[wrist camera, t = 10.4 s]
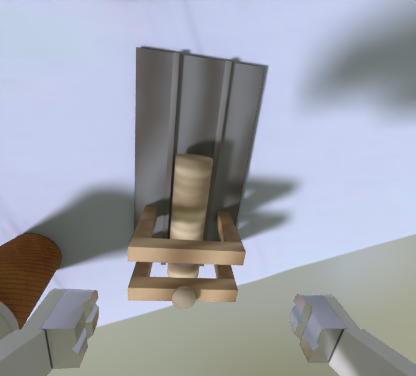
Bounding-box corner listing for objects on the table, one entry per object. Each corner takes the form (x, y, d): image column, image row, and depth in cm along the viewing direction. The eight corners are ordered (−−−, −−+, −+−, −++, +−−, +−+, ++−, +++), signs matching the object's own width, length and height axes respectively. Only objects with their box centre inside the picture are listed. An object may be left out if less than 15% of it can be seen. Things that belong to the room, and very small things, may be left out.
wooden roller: (176, 152, 25) (174, 159, 21) (211, 155, 25) (214, 163, 22) (168, 260, 30) (165, 282, 26) (198, 262, 30) (198, 283, 26)
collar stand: (262, 68, 23) (311, 42, 14) (227, 261, 31) (244, 323, 22) (137, 48, 22) (102, 4, 13) (135, 258, 30) (112, 323, 21)
